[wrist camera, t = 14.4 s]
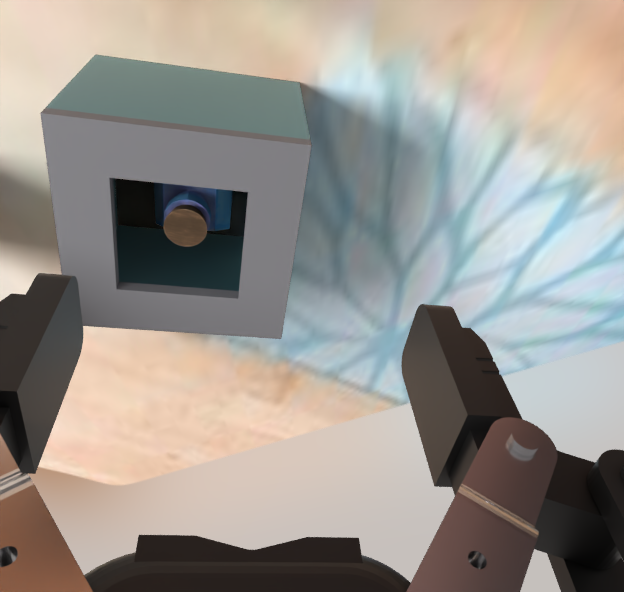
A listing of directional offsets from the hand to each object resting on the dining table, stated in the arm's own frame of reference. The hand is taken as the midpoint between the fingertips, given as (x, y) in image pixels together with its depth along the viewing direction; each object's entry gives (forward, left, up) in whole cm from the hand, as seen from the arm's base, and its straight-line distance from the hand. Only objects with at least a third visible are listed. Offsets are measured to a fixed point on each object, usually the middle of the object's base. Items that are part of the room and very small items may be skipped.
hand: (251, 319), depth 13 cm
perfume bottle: (-4, -13, -38) cm, 41 cm away
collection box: (-4, -13, -38) cm, 40 cm away
